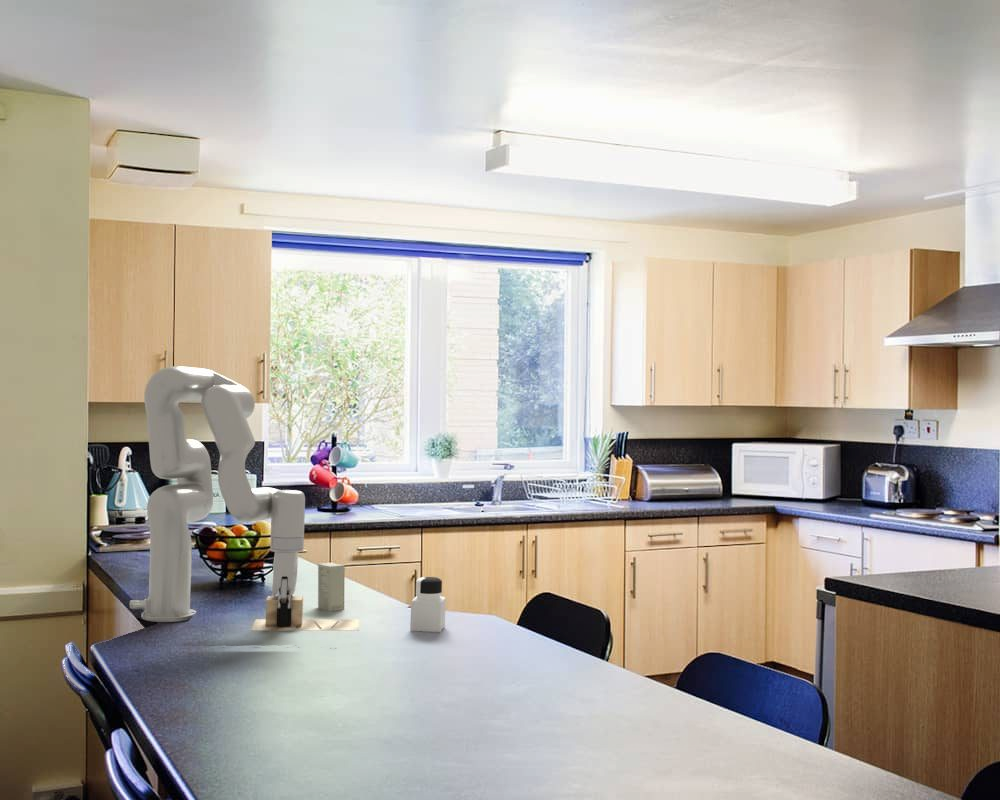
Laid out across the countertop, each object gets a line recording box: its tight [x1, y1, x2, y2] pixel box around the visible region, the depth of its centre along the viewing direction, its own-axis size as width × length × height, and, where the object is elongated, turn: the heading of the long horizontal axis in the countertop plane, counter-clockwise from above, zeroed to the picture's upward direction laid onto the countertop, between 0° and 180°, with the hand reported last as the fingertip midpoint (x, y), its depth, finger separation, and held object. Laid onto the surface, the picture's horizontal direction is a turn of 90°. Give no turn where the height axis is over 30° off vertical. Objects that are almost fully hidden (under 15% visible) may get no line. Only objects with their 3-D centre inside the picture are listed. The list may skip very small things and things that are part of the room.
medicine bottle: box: [409, 576, 447, 633], centre depth 247 cm, size 7×7×12 cm
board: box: [250, 618, 360, 631], centre depth 242 cm, size 24×12×1 cm, turn 98°
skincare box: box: [317, 562, 345, 612], centre depth 263 cm, size 6×4×12 cm
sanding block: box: [265, 595, 304, 627], centre depth 241 cm, size 8×5×6 cm, turn 98°
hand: (284, 622), depth 241 cm, fingers closed on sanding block, 5 cm apart
